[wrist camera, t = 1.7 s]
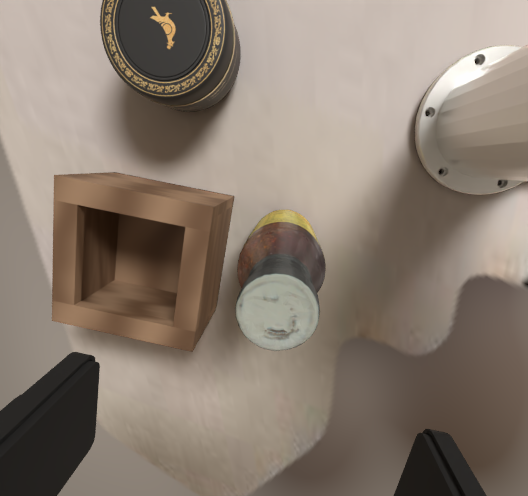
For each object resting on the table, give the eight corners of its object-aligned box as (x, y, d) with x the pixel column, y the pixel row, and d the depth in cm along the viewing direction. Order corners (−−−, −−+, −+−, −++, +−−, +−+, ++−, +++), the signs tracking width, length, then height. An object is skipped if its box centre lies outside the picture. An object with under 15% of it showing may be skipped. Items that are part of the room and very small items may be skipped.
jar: (183, -27, 29) (145, -91, 22) (266, 51, 30) (257, 14, 23) (123, 68, 32) (72, 39, 24) (202, 137, 33) (176, 129, 25)
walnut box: (234, 196, 34) (213, 207, 25) (216, 308, 37) (192, 351, 29) (114, 172, 34) (54, 175, 26) (107, 284, 38) (52, 320, 29)
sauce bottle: (293, 274, 35) (292, 405, 16) (244, 245, 35) (184, 342, 16) (327, 224, 34) (369, 303, 15) (275, 193, 33) (250, 231, 14)
